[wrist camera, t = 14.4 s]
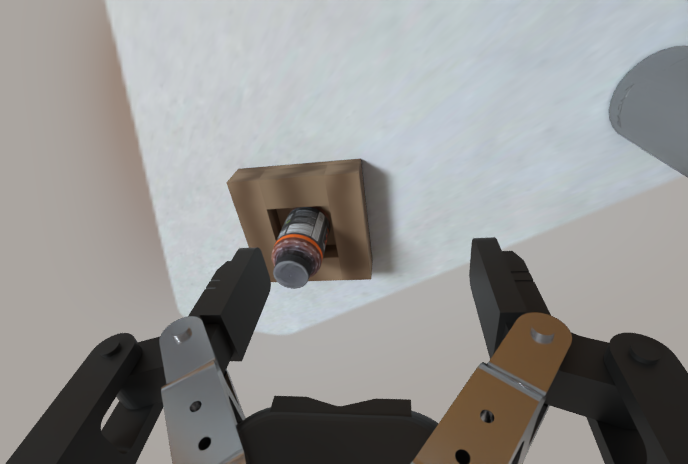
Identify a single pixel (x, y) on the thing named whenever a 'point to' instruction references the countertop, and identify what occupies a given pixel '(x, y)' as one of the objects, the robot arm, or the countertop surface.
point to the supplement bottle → (300, 246)
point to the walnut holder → (306, 191)
